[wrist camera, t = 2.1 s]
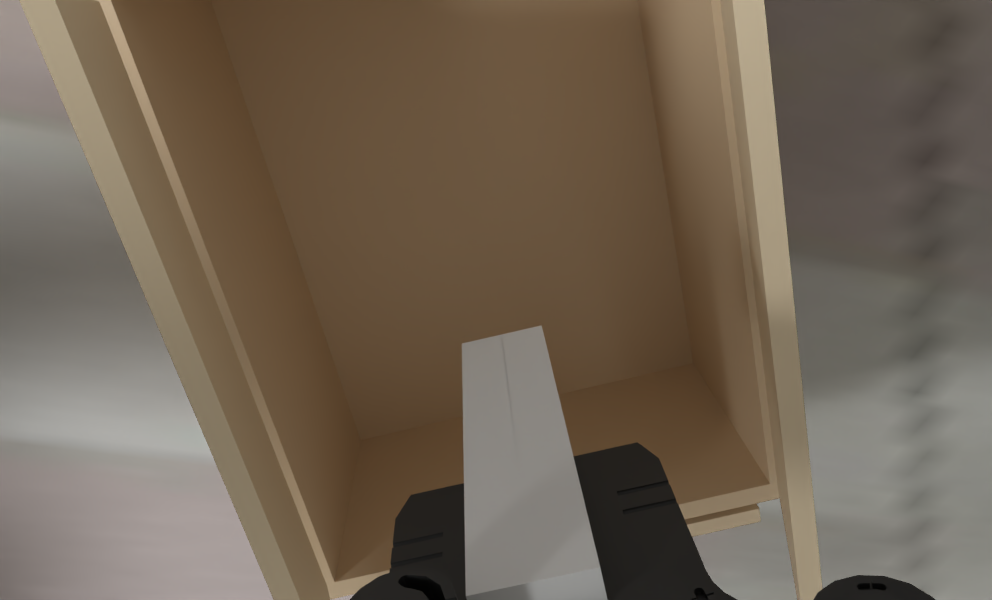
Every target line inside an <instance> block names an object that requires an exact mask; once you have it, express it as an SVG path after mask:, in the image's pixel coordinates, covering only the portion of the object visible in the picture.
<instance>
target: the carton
mask: <svg viewBox="0 0 992 600" xmlns="http://www.w3.org/2000/svg"><path fill="white" fill-rule="evenodd" d="M95 1H99V2H100V5H101V7H102V10H103V12H104V15H105V17H106V20H107V22H108V25H109V28H110V30H111V33H112V35H113V38H114V40H115V43H116V46H117V48H118V51H119V53H120V56H121V58H122V61H123V64H124V66H125V69H126V71H127V74H128V76H129V79H130V82H131V84H132V87H133V89H134V92H135V94H136V97H137V99H138V102H139V105H140V107H141V110H142V112H143V115H144V117H145V120H146V123H147V125H148V128H149V130H150V133H151V135H152V138H153V141H154V143H155V146H156V148H157V151H158V153H159V156H160V158H161V161H162V164H163V166H164V169H165V171H166V174H167V176H168V179H169V182H170V184H171V187H172V189H173V192H174V194H175V197H176V200H177V202H178V205H179V207H180V210H181V212H182V215H183V217H184V220H185V223H186V225H187V228H188V230H189V233H190V235H191V238H192V241H193V243H194V246H195V248H196V251H197V253H198V256H199V259H200V261H201V264H202V266H203V269H204V271H205V274H206V277H207V279H208V282H209V284H210V287H211V289H212V292H213V294H214V297H215V300H216V302H217V305H218V307H219V310H220V312H221V315H222V318H223V320H224V323H225V325H226V328H227V330H228V333H229V336H230V338H231V341H232V343H233V346H234V348H235V351H236V353H237V356H238V359H239V361H240V364H241V366H242V369H243V371H244V374H245V377H246V379H247V382H248V384H249V387H250V389H251V392H252V395H253V397H254V400H255V402H256V405H257V407H258V410H259V412H260V415H261V418H262V420H263V423H264V425H265V428H266V430H267V433H268V436H269V438H270V441H271V443H272V446H273V448H274V451H275V454H276V456H277V459H278V461H279V464H280V466H281V469H282V472H283V474H284V477H285V479H286V482H287V484H288V487H289V489H290V492H291V495H292V497H293V500H294V502H295V505H296V507H297V510H298V513H299V515H300V518H301V520H302V523H303V525H304V528H305V531H306V533H307V536H308V538H309V541H310V543H311V546H312V548H313V551H314V554H315V556H316V559H317V561H318V564H319V566H320V569H321V572H322V574H323V577H324V579H325V582H326V584H327V587H328V592H329V597H330V599H334V598H338V597H343V596H347V595H352V594H355V593H356V592H357V591H358V590H359V589H360V588H362V587H363V586H365V585H366V584H368V583H369V582H371V581H373V580H374V579H376V578H377V577H379V576H381V575H384V574H387V573H389V571H390V568H391V564H390V562H391V553H392V548H393V535H394V526H395V519H396V517H397V515H398V514H399V512H400V511H401V509H402V508H403V506H404V505H405V503H406V502H407V500H408V498H409V497H410V495H412V494H417V493H421V492H426V491H430V490H435V489H439V488H444V487H448V486H453V485H458V484H462V483H464V452H463V388H462V343H467V342H471V341H475V340H480V339H484V338H488V337H493V336H497V335H502V334H506V333H510V332H515V331H519V330H523V329H528V328H532V327H537V326H541V325H542V329H543V333H544V337H545V341H546V345H547V350H548V354H549V358H550V362H551V366H552V370H553V374H554V379H555V383H556V387H557V391H558V395H559V399H560V403H561V407H562V412H563V416H564V420H565V424H566V428H567V432H568V436H569V440H570V445H571V449H572V453H573V456H578V455H582V454H587V453H591V452H596V451H600V450H605V449H609V448H614V447H618V446H623V445H627V444H632V443H636V442H638V443H639V444H641V445H642V446H643V447H645V448H646V449H647V450H649V451H650V452H651V453H653V454H654V455H655V456H657V457H658V458H659V459H660V462H661V464H662V467H663V469H664V471H665V474H666V476H667V479H668V482H669V485H670V486H671V488H672V491H673V493H674V495H675V498H676V501H677V503H678V505H679V507H680V510H681V512H682V514H683V517H684V519H685V522H686V524H687V526H688V529H689V531H690V534H691V536H692V537H694V536H698V535H703V534H707V533H712V532H716V531H721V530H725V529H729V528H734V527H738V526H743V525H747V524H752V523H756V522H761V518H760V511H759V507H758V506H757V504H756V503H760V502H765V501H769V500H774V499H778V498H780V497H779V491H778V485H777V476H776V468H775V459H774V451H773V442H772V434H771V426H770V417H769V409H768V400H767V392H766V383H765V375H764V366H763V358H762V350H761V341H760V333H759V324H758V316H757V307H756V299H755V290H754V282H753V273H752V265H751V257H750V248H749V240H748V231H747V223H746V214H745V206H744V197H743V189H742V181H741V172H740V164H739V155H738V147H737V138H736V130H735V121H734V113H733V104H732V96H731V88H730V79H729V71H728V62H727V54H726V45H725V37H724V28H723V20H722V11H721V3H720V0H95Z"/></svg>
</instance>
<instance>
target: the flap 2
mask: <svg viewBox="0 0 992 600" xmlns="http://www.w3.org/2000/svg"><path fill="white" fill-rule="evenodd" d="M720 3H721V11H722V20H723V28H724V37H725V45H726V54H727V62H728V71H729V79H730V88H731V96H732V104H733V113H734V121H735V130H736V138H737V147H738V155H739V164H740V172H741V181H742V189H743V197H744V206H745V214H746V223H747V231H748V240H749V248H750V257H751V265H752V273H753V282H754V290H755V299H756V307H757V316H758V324H759V333H760V341H761V350H762V358H763V366H764V375H765V383H766V392H767V400H768V409H769V417H770V426H771V434H772V442H773V451H774V459H775V468H776V476H777V485H778V491H779V497H780V502H781V508H782V514H783V519H784V525H785V531H786V537H787V542H788V548H789V554H790V560H791V565H792V571H793V577H794V583H795V588H796V594H797V600H814V598H815V596H816V594H817V593H818V592H819V591H821V590H822V579H821V569H820V559H819V549H818V539H817V529H816V519H815V509H814V499H813V488H812V478H811V468H810V458H809V448H808V438H807V428H806V418H805V408H804V398H803V388H802V378H801V367H800V357H799V347H798V337H797V327H796V317H795V307H794V297H793V287H792V277H791V267H790V257H789V246H788V236H787V226H786V216H785V206H784V196H783V186H782V176H781V166H780V156H779V146H778V135H777V125H776V115H775V105H774V95H773V85H772V75H771V65H770V55H769V45H768V35H767V25H766V14H765V4H764V0H720Z"/></svg>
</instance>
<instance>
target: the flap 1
mask: <svg viewBox="0 0 992 600" xmlns="http://www.w3.org/2000/svg"><path fill="white" fill-rule="evenodd" d="M19 1H20V3H21V5H22V8H23V10H24V13H25V15H26V17H27V20H28V22H29V24H30V27H31V29H32V31H33V34H34V36H35V38H36V41H37V43H38V46H39V48H40V50H41V53H42V55H43V57H44V60H45V62H46V64H47V67H48V69H49V71H50V74H51V76H52V78H53V81H54V83H55V86H56V88H57V90H58V93H59V95H60V97H61V100H62V102H63V104H64V107H65V109H66V111H67V114H68V116H69V119H70V121H71V123H72V126H73V128H74V130H75V133H76V135H77V137H78V140H79V142H80V144H81V147H82V149H83V152H84V154H85V156H86V159H87V161H88V163H89V166H90V168H91V170H92V173H93V175H94V177H95V180H96V182H97V184H98V187H99V189H100V192H101V194H102V196H103V199H104V201H105V203H106V206H107V208H108V210H109V213H110V215H111V217H112V220H113V222H114V225H115V227H116V229H117V232H118V234H119V236H120V239H121V241H122V243H123V246H124V248H125V250H126V253H127V255H128V258H129V260H130V262H131V265H132V267H133V269H134V272H135V274H136V276H137V279H138V281H139V283H140V286H141V288H142V290H143V293H144V295H145V298H146V300H147V302H148V305H149V307H150V309H151V312H152V314H153V316H154V319H155V321H156V323H157V326H158V328H159V331H160V333H161V335H162V338H163V340H164V342H165V345H166V347H167V349H168V352H169V354H170V356H171V359H172V361H173V364H174V366H175V368H176V371H177V373H178V375H179V378H180V380H181V382H182V385H183V387H184V389H185V392H186V394H187V397H188V399H189V401H190V404H191V406H192V408H193V411H194V413H195V415H196V418H197V420H198V422H199V425H200V427H201V429H202V432H203V434H204V437H205V439H206V441H207V444H208V446H209V448H210V451H211V453H212V455H213V458H214V460H215V462H216V465H217V467H218V470H219V472H220V474H221V477H222V479H223V481H224V484H225V486H226V488H227V491H228V493H229V495H230V498H231V500H232V503H233V505H234V507H235V510H236V512H237V514H238V517H239V519H240V521H241V524H242V526H243V528H244V531H245V533H246V535H247V538H248V540H249V543H250V545H251V547H252V550H253V552H254V554H255V557H256V559H257V561H258V564H259V566H260V568H261V571H262V573H263V576H264V578H265V580H266V583H267V585H268V587H269V590H270V592H271V594H272V597H273V599H274V600H330V597H329V592H328V587H327V584H326V582H325V579H324V577H323V574H322V572H321V569H320V566H319V564H318V561H317V559H316V556H315V554H314V551H313V548H312V546H311V543H310V541H309V538H308V536H307V533H306V531H305V528H304V525H303V523H302V520H301V518H300V515H299V513H298V510H297V507H296V505H295V502H294V500H293V497H292V495H291V492H290V489H289V487H288V484H287V482H286V479H285V477H284V474H283V472H282V469H281V466H280V464H279V461H278V459H277V456H276V454H275V451H274V448H273V446H272V443H271V441H270V438H269V436H268V433H267V430H266V428H265V425H264V423H263V420H262V418H261V415H260V412H259V410H258V407H257V405H256V402H255V400H254V397H253V395H252V392H251V389H250V387H249V384H248V382H247V379H246V377H245V374H244V371H243V369H242V366H241V364H240V361H239V359H238V356H237V353H236V351H235V348H234V346H233V343H232V341H231V338H230V336H229V333H228V330H227V328H226V325H225V323H224V320H223V318H222V315H221V312H220V310H219V307H218V305H217V302H216V300H215V297H214V294H213V292H212V289H211V287H210V284H209V282H208V279H207V277H206V274H205V271H204V269H203V266H202V264H201V261H200V259H199V256H198V253H197V251H196V248H195V246H194V243H193V241H192V238H191V235H190V233H189V230H188V228H187V225H186V223H185V220H184V217H183V215H182V212H181V210H180V207H179V205H178V202H177V200H176V197H175V194H174V192H173V189H172V187H171V184H170V182H169V179H168V176H167V174H166V171H165V169H164V166H163V164H162V161H161V158H160V156H159V153H158V151H157V148H156V146H155V143H154V141H153V138H152V135H151V133H150V130H149V128H148V125H147V123H146V120H145V117H144V115H143V112H142V110H141V107H140V105H139V102H138V99H137V97H136V94H135V92H134V89H133V87H132V84H131V82H130V79H129V76H128V74H127V71H126V69H125V66H124V64H123V61H122V58H121V56H120V53H119V51H118V48H117V46H116V43H115V40H114V38H113V35H112V33H111V30H110V28H109V25H108V22H107V20H106V17H105V15H104V12H103V10H102V7H101V5H100V2H99V1H95V0H19Z"/></svg>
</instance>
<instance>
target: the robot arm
mask: <svg viewBox="0 0 992 600" xmlns="http://www.w3.org/2000/svg"><path fill="white" fill-rule="evenodd" d="M462 388H463V452H464V483H462V484H458V485H453V486H448V487H444V488H439V489H435V490H430V491H426V492H421V493H417V494H412V495H410V497H409V498H408V500H407V502H406V503H405V505H404V506H403V508H402V509H401V511H400V512H399V514H398V515H397V517H396V519H395V526H394V535H393V548H392V553H391V562H390V564H391V568H390V571H389V573H387V574H384V575H381V576H379V577H377V578H376V579H374V580H373V581H371V582H369V583H368V584H366V585H365V586H363V587H362V588H360V589H359V590H358V591H357V592H356V593H355V595H354V596H353V597H352V598H351V599H350V600H737V599H735V598H733V597H731V596H730V595H728V594H726V593H724V592H723V591H722V590H721V589H720V588H719V587H718V586H717V585H716V584H714V583H713V581H712V580H711V578H710V576H709V575H708V573H707V572H706V570H705V567H704V565H703V562H702V560H701V558H700V555H699V553H698V550H697V548H696V546H695V543H694V541H693V538H692V536H691V534H690V531H689V529H688V526H687V524H686V522H685V519H684V517H683V514H682V512H681V510H680V507H679V505H678V503H677V501H676V498H675V495H674V493H673V491H672V488H671V486H670V485H669V482H668V479H667V476H666V474H665V471H664V469H663V467H662V464H661V462H660V459H659V458H658V457H657V456H655V455H654V454H653V453H651V452H650V451H649V450H647V449H646V448H645V447H643V446H642V445H641V444H639V443H638V442H636V443H632V444H627V445H623V446H618V447H614V448H609V449H605V450H600V451H596V452H591V453H587V454H582V455H578V456H573V453H572V449H571V445H570V440H569V436H568V432H567V428H566V424H565V420H564V416H563V412H562V407H561V403H560V399H559V395H558V391H557V387H556V383H555V379H554V374H553V370H552V366H551V362H550V358H549V354H548V350H547V345H546V341H545V337H544V333H543V329H542V325H541V326H537V327H532V328H528V329H523V330H519V331H515V332H510V333H506V334H502V335H497V336H493V337H488V338H484V339H480V340H475V341H471V342H467V343H462ZM814 600H935V599H934V598H933V597H931V596H930V595H928V594H926V593H925V592H923V591H921V590H920V589H918V588H916V587H915V586H913V585H912V584H909V583H906V582H903V581H899V580H896V579H892V578H889V577H885V576H864V575H857V576H853V577H849V578H845V579H841V580H837V581H834V582H833V583H831V584H830V585H828V586H827V587H825V588H824V589H822V590H821V591H819V592H818V593H817V594H816V596H815V598H814Z"/></svg>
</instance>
